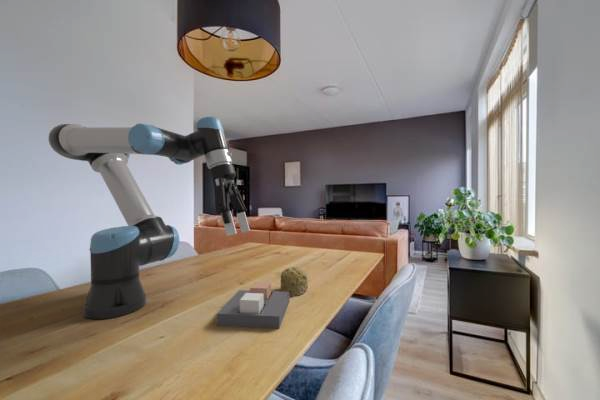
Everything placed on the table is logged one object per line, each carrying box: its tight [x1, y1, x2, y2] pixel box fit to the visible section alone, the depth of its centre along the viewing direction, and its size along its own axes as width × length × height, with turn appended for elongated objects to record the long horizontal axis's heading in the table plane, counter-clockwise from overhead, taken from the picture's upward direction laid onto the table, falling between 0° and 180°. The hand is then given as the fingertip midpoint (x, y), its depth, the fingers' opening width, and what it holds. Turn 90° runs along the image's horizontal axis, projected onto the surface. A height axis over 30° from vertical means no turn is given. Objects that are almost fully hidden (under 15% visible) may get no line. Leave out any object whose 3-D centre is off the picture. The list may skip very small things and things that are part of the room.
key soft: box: [240, 293, 264, 314], centre depth 70 cm, size 5×5×4 cm
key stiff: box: [249, 281, 272, 300], centre depth 79 cm, size 5×5×4 cm
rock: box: [280, 266, 309, 297], centre depth 92 cm, size 10×11×10 cm
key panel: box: [216, 289, 290, 329], centre depth 75 cm, size 16×17×3 cm
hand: (239, 233), depth 80 cm, fingers open, 13 cm apart
